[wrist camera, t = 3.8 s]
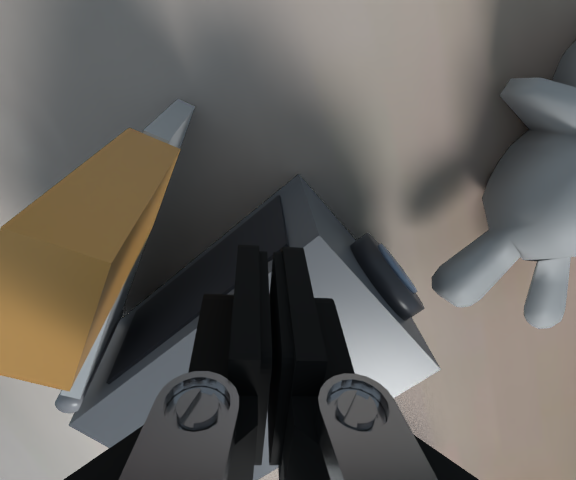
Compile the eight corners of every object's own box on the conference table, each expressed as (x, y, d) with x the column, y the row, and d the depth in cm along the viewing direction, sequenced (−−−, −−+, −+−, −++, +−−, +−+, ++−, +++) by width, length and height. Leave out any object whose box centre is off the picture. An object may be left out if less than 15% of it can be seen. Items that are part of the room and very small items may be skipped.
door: (125, 321, 23) (-8, 628, 11) (97, 313, 23) (-73, 623, 11) (203, 110, 18) (113, 258, 6) (169, 94, 18) (2, 222, 6)
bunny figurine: (808, 53, 16) (598, 359, 20) (677, 61, 21) (530, 308, 25) (629, -47, 14) (439, 318, 18) (528, -13, 19) (397, 270, 23)
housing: (222, 399, 27) (212, 522, 21) (114, 321, 24) (57, 440, 17) (408, 271, 24) (473, 368, 17) (315, 156, 20) (348, 221, 13)
